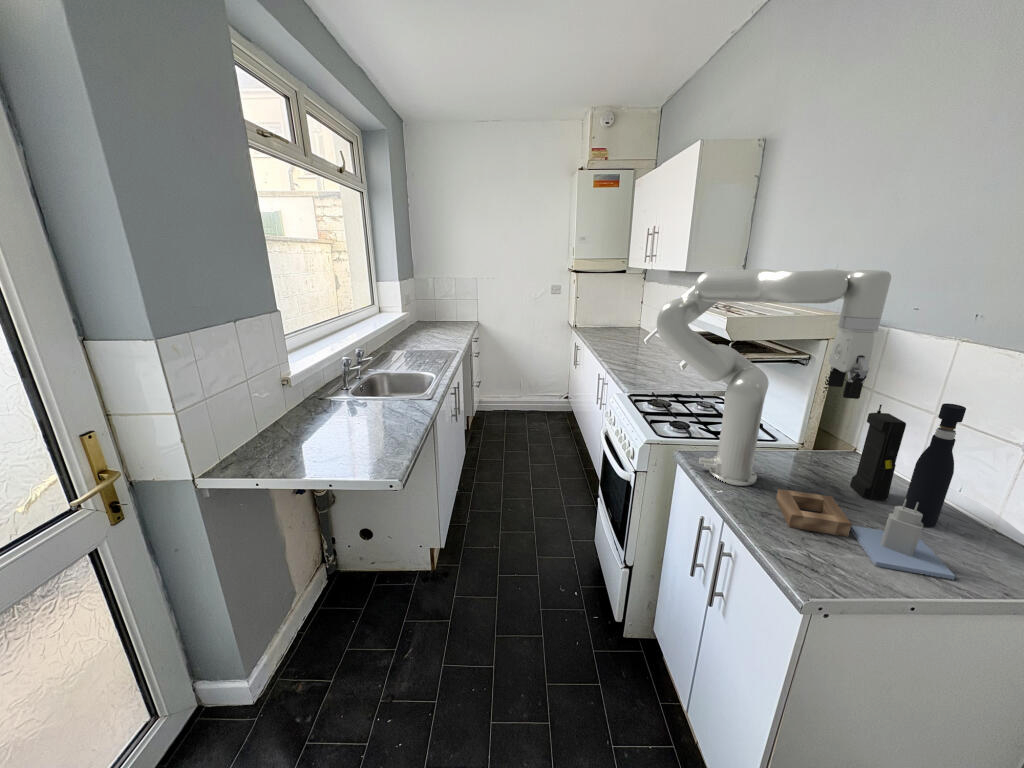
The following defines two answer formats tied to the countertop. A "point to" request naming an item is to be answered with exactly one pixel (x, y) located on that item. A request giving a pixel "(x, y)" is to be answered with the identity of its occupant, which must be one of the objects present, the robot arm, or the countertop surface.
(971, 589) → the countertop surface
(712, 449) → the countertop surface
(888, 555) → the blue square plate
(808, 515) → the walnut collar
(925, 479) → the black water bottle
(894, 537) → the power adapter
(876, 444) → the portable radio
